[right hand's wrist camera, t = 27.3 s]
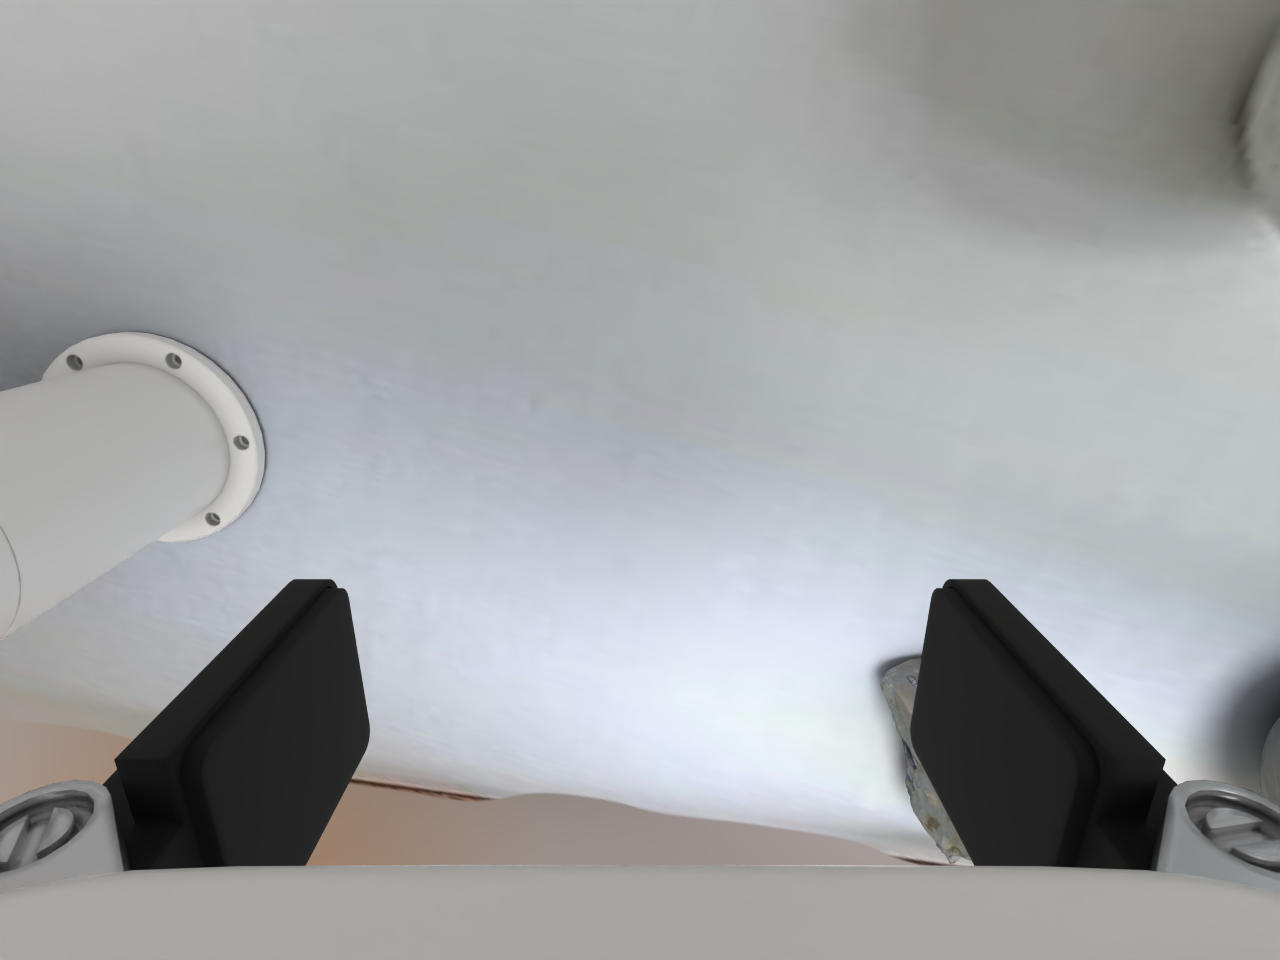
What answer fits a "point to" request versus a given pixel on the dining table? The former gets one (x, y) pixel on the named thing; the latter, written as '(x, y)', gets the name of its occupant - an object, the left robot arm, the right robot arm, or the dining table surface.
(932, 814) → the mineral rock
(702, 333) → the dining table surface
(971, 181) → the dining table surface
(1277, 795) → the sculpture
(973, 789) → the right robot arm
